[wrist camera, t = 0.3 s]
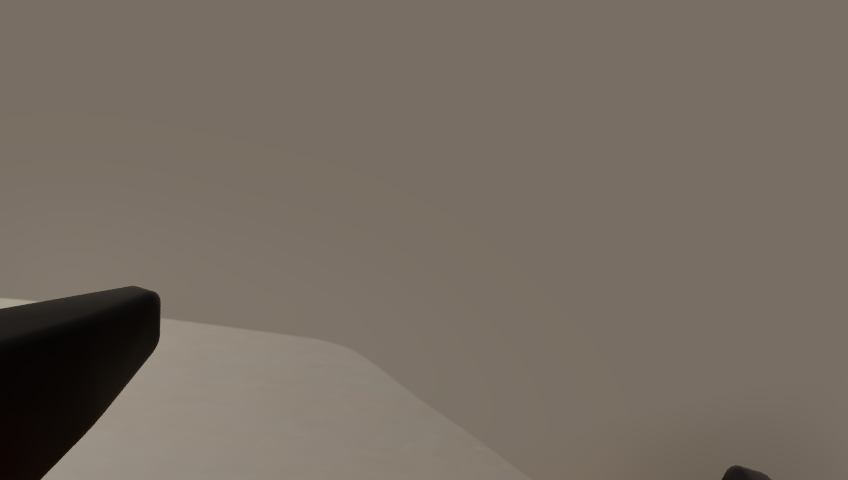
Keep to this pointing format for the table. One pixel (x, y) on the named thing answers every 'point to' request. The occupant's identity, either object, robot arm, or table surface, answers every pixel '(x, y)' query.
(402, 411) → the table surface
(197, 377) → the table surface
